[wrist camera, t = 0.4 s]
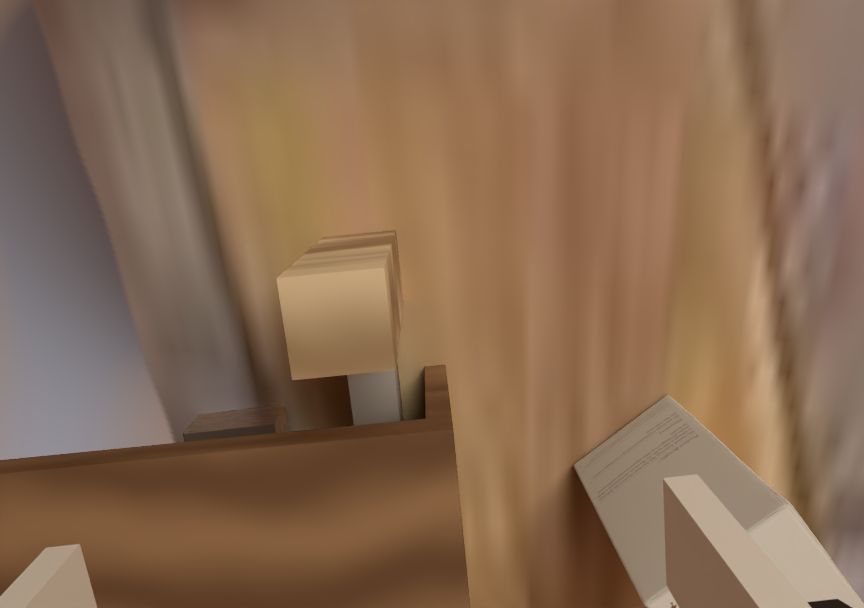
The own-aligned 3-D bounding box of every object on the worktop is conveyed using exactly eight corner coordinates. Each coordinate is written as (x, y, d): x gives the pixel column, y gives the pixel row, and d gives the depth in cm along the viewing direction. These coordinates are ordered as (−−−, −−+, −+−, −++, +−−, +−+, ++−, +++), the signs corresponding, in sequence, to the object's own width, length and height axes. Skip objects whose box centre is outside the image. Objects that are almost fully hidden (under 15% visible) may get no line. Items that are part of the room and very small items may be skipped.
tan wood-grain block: (323, 237, 36) (276, 278, 24) (395, 230, 36) (384, 267, 24) (361, 514, 39) (336, 665, 28) (426, 507, 39) (428, 657, 28)
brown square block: (201, 412, 38) (183, 434, 35) (285, 403, 38) (274, 424, 35) (217, 488, 39) (201, 516, 36) (299, 479, 39) (289, 506, 36)
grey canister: (639, 546, 40) (736, 719, 28) (569, 462, 39) (638, 605, 27) (738, 477, 39) (883, 625, 27) (670, 389, 38) (791, 501, 26)
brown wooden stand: (67, 402, 37) (-41, 477, 29) (445, 364, 37) (453, 429, 29) (117, 610, 41) (33, 736, 32) (465, 576, 40) (478, 693, 32)
